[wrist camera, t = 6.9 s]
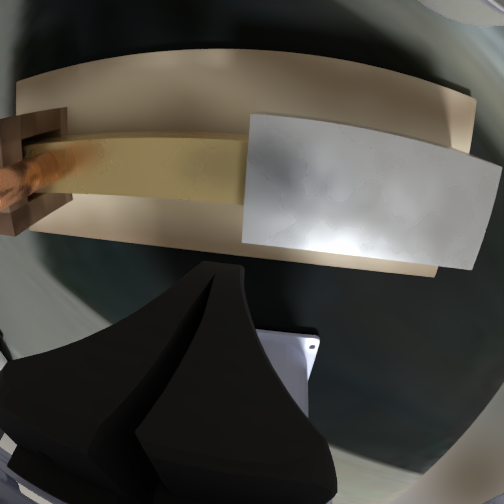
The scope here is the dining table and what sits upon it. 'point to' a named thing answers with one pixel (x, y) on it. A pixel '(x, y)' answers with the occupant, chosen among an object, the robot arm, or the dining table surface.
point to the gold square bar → (132, 166)
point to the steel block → (364, 192)
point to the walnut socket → (10, 151)
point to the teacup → (469, 11)
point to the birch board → (229, 121)
